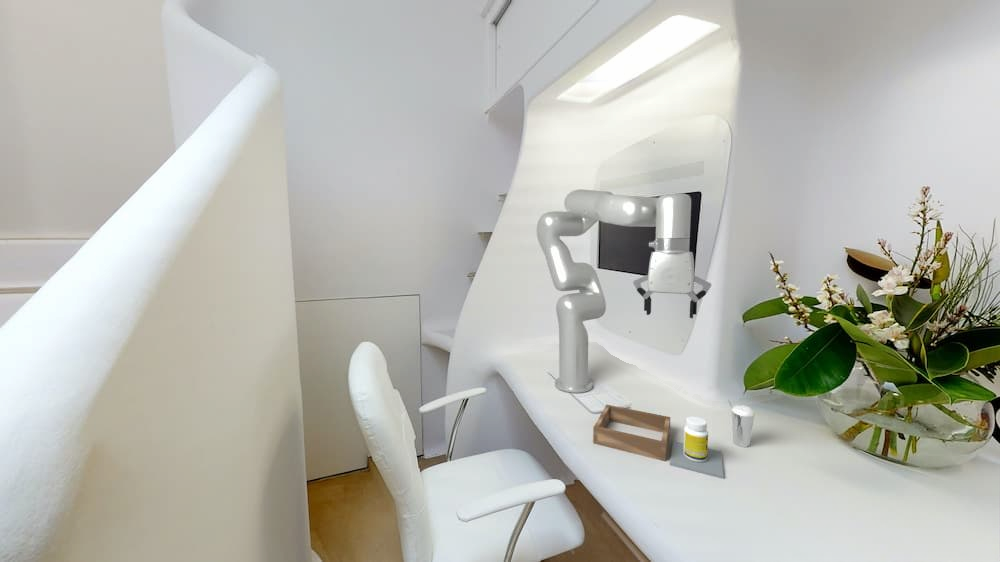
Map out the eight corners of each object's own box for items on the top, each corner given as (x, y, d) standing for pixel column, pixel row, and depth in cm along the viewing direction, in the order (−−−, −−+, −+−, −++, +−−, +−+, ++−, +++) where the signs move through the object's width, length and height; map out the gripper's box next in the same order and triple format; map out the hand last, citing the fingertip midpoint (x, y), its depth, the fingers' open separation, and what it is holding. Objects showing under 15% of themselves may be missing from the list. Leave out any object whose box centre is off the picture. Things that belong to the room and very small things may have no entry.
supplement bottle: (710, 463, 78) (712, 426, 78) (686, 461, 79) (688, 425, 79) (702, 451, 83) (704, 416, 82) (680, 449, 84) (681, 414, 83)
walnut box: (606, 418, 100) (606, 404, 100) (669, 431, 93) (670, 417, 92) (593, 443, 88) (593, 427, 88) (665, 461, 81) (665, 444, 80)
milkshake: (729, 435, 91) (731, 396, 90) (754, 443, 87) (757, 403, 86) (723, 442, 88) (725, 402, 87) (750, 451, 84) (752, 409, 83)
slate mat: (672, 442, 88) (673, 440, 88) (721, 453, 83) (721, 451, 83) (669, 464, 79) (669, 462, 79) (723, 478, 74) (723, 476, 74)
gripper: (632, 246, 89) (630, 315, 91) (713, 246, 81) (710, 321, 83) (636, 246, 95) (635, 310, 97) (712, 245, 87) (709, 315, 89)
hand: (669, 315), depth 90 cm, fingers open, 9 cm apart
